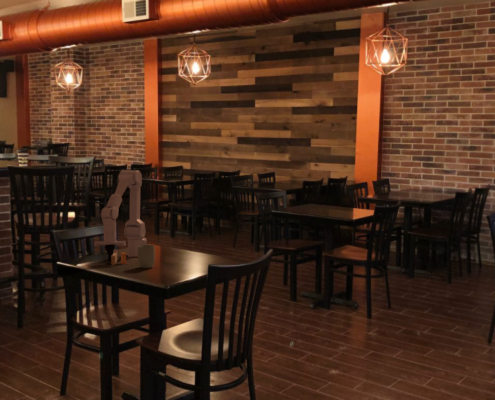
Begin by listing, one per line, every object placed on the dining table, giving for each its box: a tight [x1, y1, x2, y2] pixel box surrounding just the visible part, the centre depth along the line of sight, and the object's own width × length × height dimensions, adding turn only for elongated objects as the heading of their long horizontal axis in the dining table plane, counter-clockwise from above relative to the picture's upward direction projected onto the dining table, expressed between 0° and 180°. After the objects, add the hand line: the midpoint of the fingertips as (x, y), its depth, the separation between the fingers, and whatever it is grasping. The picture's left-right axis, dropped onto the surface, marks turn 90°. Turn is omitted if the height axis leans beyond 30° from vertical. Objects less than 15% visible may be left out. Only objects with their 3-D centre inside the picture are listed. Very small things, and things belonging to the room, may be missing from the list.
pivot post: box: [113, 249, 120, 261], centre depth 291 cm, size 3×3×5 cm
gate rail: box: [110, 252, 118, 266], centre depth 284 cm, size 11×2×4 cm, turn 7°
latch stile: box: [120, 252, 128, 265], centre depth 282 cm, size 3×3×5 cm
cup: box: [137, 244, 156, 269], centre depth 271 cm, size 8×8×10 cm
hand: (110, 260), depth 281 cm, fingers closed, pressing on gate rail
